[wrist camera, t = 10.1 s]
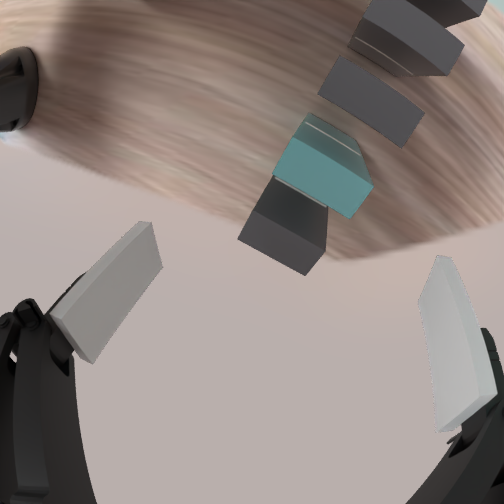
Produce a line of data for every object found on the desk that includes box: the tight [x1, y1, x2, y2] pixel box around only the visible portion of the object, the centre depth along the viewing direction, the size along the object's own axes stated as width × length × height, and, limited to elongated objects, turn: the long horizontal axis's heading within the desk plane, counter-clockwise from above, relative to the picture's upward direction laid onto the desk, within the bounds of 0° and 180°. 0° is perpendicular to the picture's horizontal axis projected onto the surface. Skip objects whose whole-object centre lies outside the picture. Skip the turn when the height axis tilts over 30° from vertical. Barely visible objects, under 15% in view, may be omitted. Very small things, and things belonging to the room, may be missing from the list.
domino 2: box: [318, 56, 425, 149], centre depth 16 cm, size 5×2×12 cm, turn 65°
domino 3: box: [272, 113, 374, 219], centre depth 19 cm, size 5×2×12 cm, turn 65°
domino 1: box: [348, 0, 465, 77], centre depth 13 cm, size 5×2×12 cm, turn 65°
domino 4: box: [238, 175, 328, 276], centre depth 22 cm, size 5×2×12 cm, turn 65°
